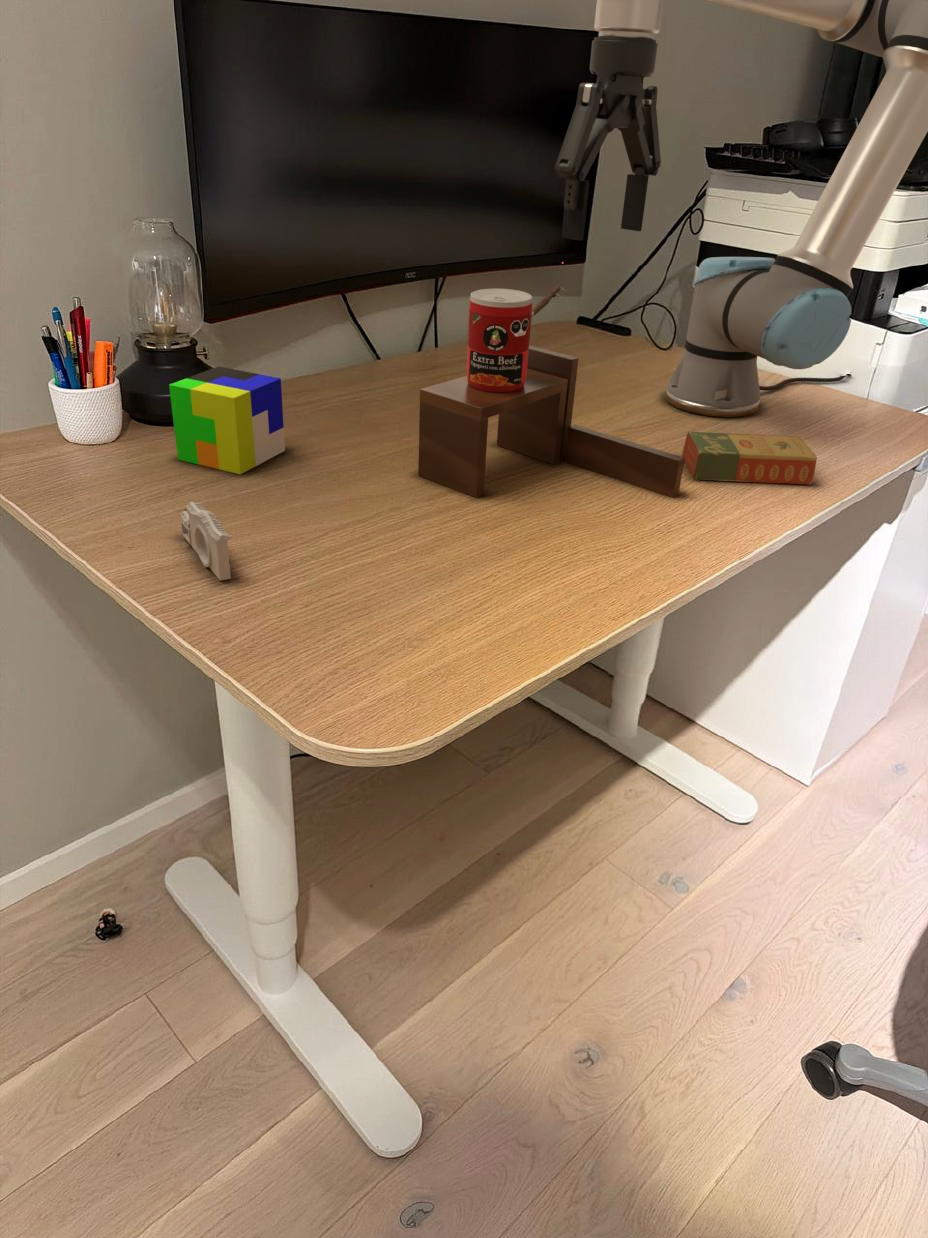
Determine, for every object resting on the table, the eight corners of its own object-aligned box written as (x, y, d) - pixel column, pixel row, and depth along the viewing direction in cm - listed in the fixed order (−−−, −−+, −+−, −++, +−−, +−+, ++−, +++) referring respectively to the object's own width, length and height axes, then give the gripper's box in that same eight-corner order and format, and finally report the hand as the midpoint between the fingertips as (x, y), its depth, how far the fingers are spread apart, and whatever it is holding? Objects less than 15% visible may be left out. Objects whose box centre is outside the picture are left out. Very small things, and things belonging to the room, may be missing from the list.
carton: (811, 486, 122) (819, 456, 120) (692, 480, 122) (697, 450, 120) (793, 463, 129) (800, 434, 127) (681, 457, 129) (686, 428, 127)
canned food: (461, 390, 114) (465, 298, 108) (471, 372, 121) (475, 285, 115) (522, 395, 113) (529, 304, 107) (528, 377, 120) (535, 290, 114)
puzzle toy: (285, 450, 125) (280, 378, 120) (240, 474, 117) (233, 398, 112) (225, 437, 128) (218, 366, 123) (178, 459, 120) (168, 384, 115)
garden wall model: (180, 537, 101) (174, 488, 98) (196, 534, 102) (190, 485, 99) (218, 583, 92) (213, 531, 89) (235, 579, 93) (230, 527, 90)
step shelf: (511, 439, 133) (518, 342, 125) (678, 494, 118) (697, 387, 111) (417, 475, 119) (420, 368, 112) (593, 542, 104) (608, 424, 97)
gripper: (652, 41, 115) (629, 222, 126) (534, 28, 98) (519, 238, 109) (706, 42, 111) (677, 229, 122) (592, 29, 94) (571, 247, 105)
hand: (602, 234), depth 116 cm, fingers open, 13 cm apart
